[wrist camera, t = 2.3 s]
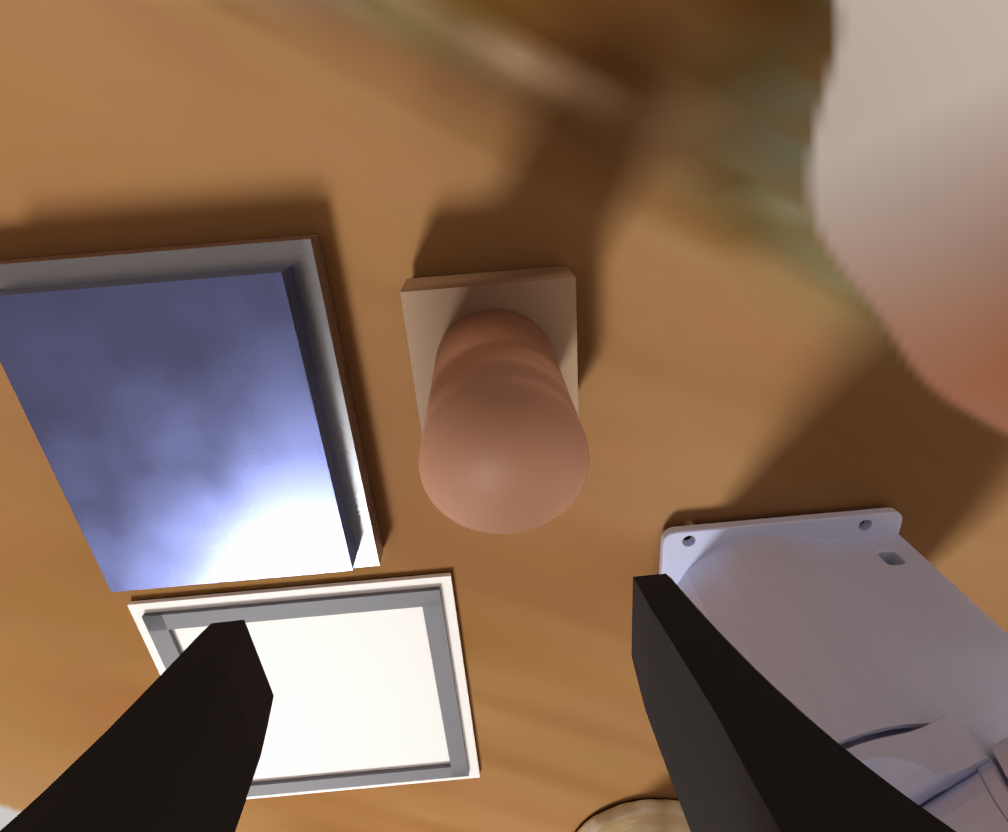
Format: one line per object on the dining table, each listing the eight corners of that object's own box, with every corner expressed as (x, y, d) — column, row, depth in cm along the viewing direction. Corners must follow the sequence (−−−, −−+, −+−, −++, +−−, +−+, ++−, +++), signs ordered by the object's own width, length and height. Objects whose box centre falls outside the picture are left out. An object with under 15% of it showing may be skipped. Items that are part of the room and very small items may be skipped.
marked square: (450, 572, 23) (450, 579, 23) (479, 773, 29) (479, 781, 29) (130, 601, 23) (124, 608, 23) (222, 797, 29) (218, 805, 28)
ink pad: (318, 233, 17) (301, 244, 16) (383, 548, 23) (375, 583, 21) (-13, 261, 17) (-69, 274, 15) (129, 571, 22) (99, 608, 21)
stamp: (564, 262, 18) (624, 341, 11) (568, 405, 20) (620, 548, 13) (407, 275, 18) (365, 363, 11) (428, 417, 20) (403, 568, 13)
